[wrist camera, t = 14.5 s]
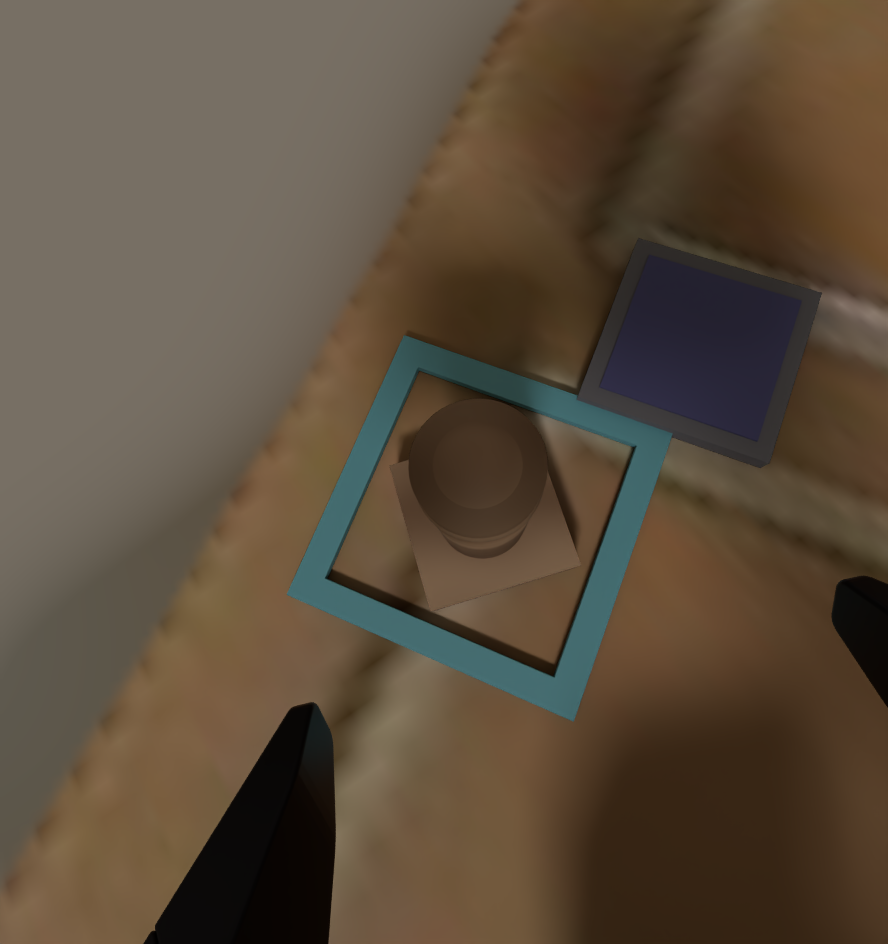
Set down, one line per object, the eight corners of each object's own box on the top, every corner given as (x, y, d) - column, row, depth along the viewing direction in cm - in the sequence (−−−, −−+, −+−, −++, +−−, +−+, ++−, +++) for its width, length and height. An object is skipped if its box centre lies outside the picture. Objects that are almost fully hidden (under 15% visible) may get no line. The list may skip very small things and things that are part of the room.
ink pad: (760, 467, 23) (770, 462, 23) (574, 402, 25) (578, 395, 24) (811, 302, 25) (823, 291, 24) (633, 249, 26) (638, 236, 25)
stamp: (574, 567, 23) (640, 542, 13) (434, 610, 23) (392, 618, 13) (527, 434, 25) (554, 317, 14) (396, 474, 25) (330, 387, 15)
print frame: (572, 719, 22) (573, 721, 21) (289, 594, 24) (286, 594, 23) (671, 432, 24) (674, 429, 24) (405, 339, 26) (404, 335, 26)
